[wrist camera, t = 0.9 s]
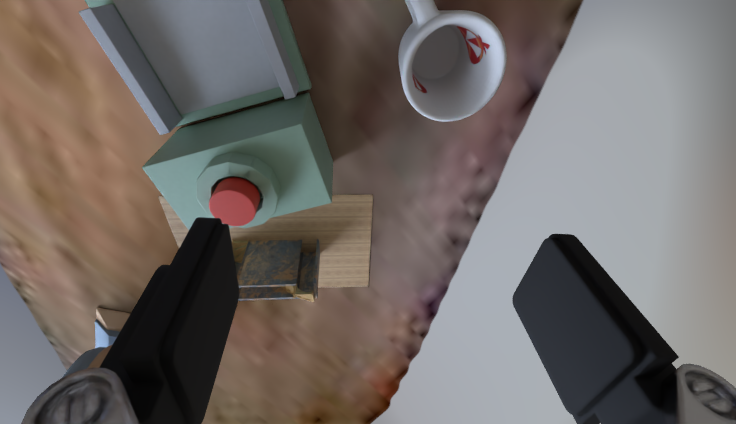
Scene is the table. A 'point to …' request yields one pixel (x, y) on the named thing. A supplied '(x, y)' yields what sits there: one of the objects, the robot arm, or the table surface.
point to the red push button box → (248, 161)
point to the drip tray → (199, 54)
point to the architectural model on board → (299, 249)
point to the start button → (234, 201)
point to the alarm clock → (101, 339)
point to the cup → (450, 61)
